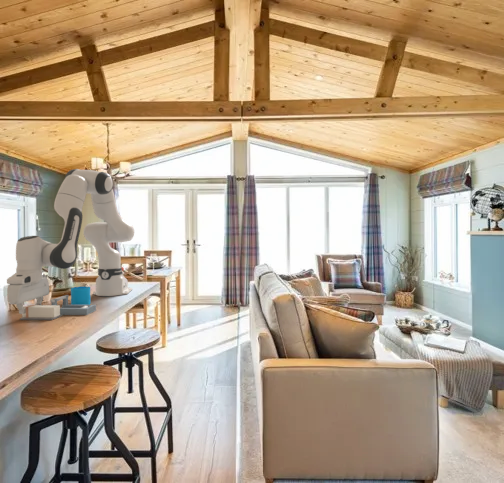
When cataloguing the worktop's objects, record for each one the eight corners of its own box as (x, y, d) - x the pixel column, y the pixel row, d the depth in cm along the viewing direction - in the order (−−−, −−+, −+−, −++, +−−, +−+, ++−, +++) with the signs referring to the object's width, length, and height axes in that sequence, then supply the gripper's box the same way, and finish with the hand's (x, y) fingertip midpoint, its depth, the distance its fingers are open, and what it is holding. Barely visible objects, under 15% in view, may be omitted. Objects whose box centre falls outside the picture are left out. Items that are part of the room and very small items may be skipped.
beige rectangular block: (22, 317, 141) (21, 307, 140) (29, 314, 145) (28, 304, 144) (54, 317, 140) (53, 307, 140) (60, 315, 144) (59, 305, 144)
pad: (31, 315, 146) (31, 313, 146) (62, 315, 145) (62, 314, 145) (19, 319, 139) (19, 318, 139) (52, 320, 138) (51, 318, 138)
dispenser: (50, 315, 146) (50, 300, 146) (65, 309, 156) (65, 295, 156) (85, 315, 145) (84, 300, 145) (97, 309, 156) (97, 295, 155)
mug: (86, 307, 161) (86, 289, 161) (68, 307, 161) (67, 289, 161) (96, 301, 173) (96, 285, 173) (79, 301, 173) (78, 285, 172)
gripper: (38, 273, 152) (39, 304, 153) (3, 280, 132) (4, 317, 133) (53, 273, 152) (53, 305, 153) (19, 280, 132) (20, 317, 132)
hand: (30, 310), depth 142 cm, fingers open, 8 cm apart
